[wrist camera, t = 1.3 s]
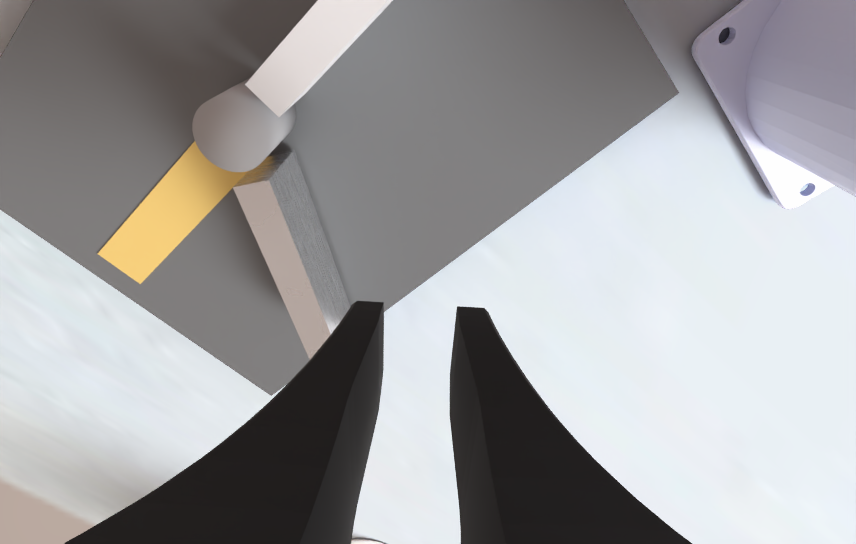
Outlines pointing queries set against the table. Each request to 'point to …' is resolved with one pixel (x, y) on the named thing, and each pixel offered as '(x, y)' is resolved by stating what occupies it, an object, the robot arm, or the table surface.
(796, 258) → the table surface
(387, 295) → the mat
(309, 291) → the hinge leaf
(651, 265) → the table surface
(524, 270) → the table surface
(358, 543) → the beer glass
